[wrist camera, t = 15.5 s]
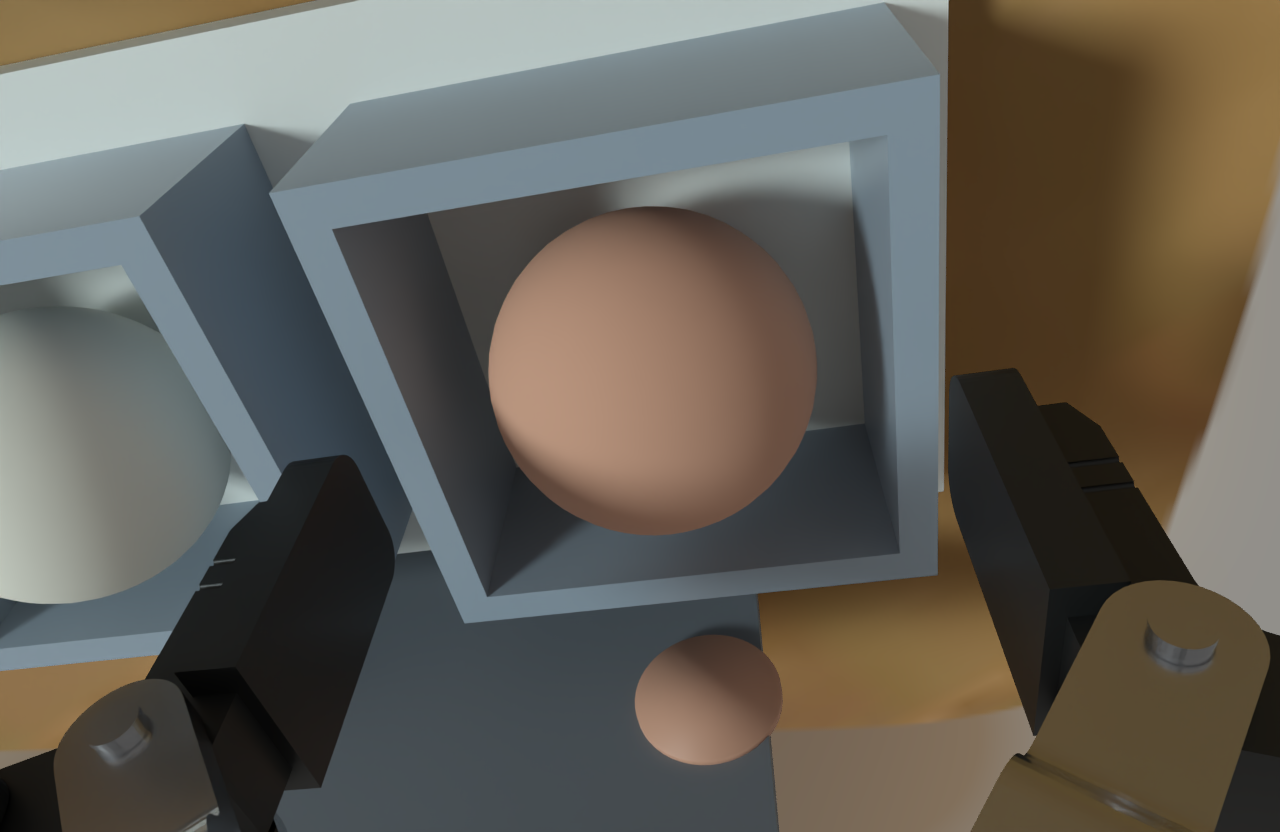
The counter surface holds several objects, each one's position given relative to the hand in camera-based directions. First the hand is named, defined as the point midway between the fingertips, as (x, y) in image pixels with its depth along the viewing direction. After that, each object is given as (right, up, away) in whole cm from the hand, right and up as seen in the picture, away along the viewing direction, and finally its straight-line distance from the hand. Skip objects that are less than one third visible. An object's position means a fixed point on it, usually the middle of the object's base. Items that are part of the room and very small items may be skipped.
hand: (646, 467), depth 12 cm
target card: (-4, -2, +9) cm, 10 cm away
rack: (-5, +3, +5) cm, 8 cm away
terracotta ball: (0, +1, +2) cm, 2 cm away
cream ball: (-10, 0, +3) cm, 10 cm away
